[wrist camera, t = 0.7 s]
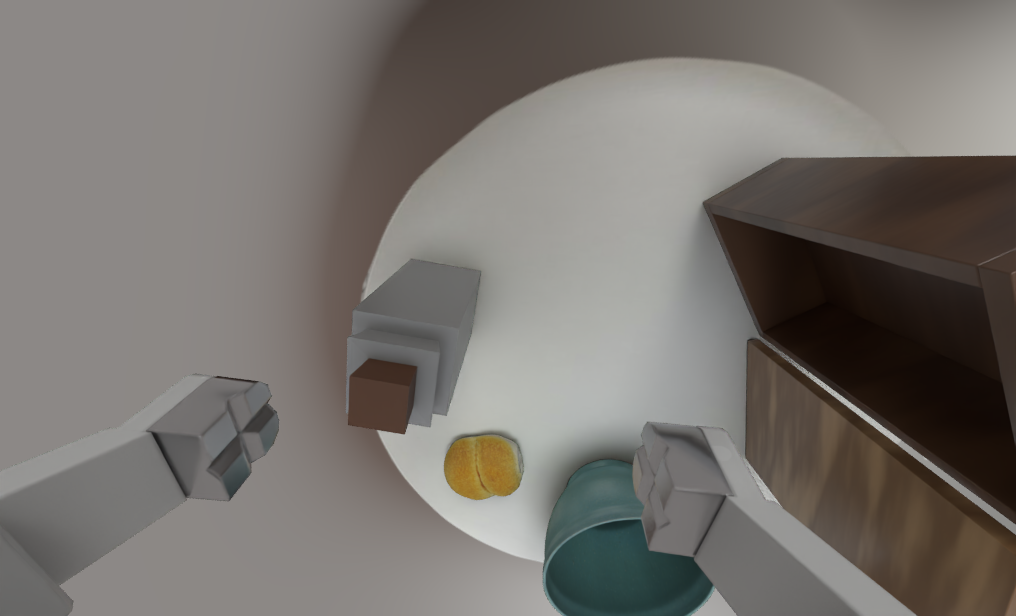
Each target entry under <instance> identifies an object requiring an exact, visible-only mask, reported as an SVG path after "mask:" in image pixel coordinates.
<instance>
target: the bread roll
mask: <svg viewBox="0 0 1016 616" xmlns="http://www.w3.org/2000/svg"><path fill="white" fill-rule="evenodd" d="M444 472H445V477H446V480H447V482H448V484H449V485H450V487H451V488H452V489H453V490H454V491H455V492H456V493H458V494H459V495H461V496H464V497H467V498H470V499H474V500H482V499H486V498H489V497H491V496H494V495H497V496H507V495H510V494H512V493H513V492H514V491H515V490H516V489H517V488H518V487H519V485H520V481H521V479H522V475H523V472H524V466H523V461H522V456H521V453H520V450H519V447H518V445H517V444H516V443H515V442H513V441H511V440H509V439H506V438H504V437H501V436H499V435H494V434H493V435H482V436H477V437H465V438H461V439H458V440H456V441H455V442H454V443H453V444H452V446H451V447H450V449H449V450H448V452H447V454H446V457H445V461H444Z"/></svg>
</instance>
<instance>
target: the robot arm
mask: <svg viewBox="0 0 1016 616" xmlns="http://www.w3.org/2000/svg"><path fill="white" fill-rule="evenodd" d="M271 397H272V395H271V392H270V390H269V387H268V384H265V383H263V382H259V381H251V380H244V379H236V378H228V377H221V376H217V377H215V376H208V375H201V374H192V375H189V376H186V377H184V378H182V379H181V380H180V381H179V382H177V383H176V384H175V385H173V386H172V387H171V388H169V389H168V390H167V391H165V392H164V393H163V394H162V395H160V396H159V397H158V398H156V399H155V400H154V401H152V402H151V403H150V404H148V405H147V406H146V407H144V408H143V409H142V410H141V411H139V412H138V413H137V414H135V415H134V416H133V417H131V418H130V419H129V420H127V421H126V422H125V423H123V424H122V425H121V426H120V427H118V428H108V429H105V430H102V431H100V432H97V433H95V434H92V435H90V436H87V437H85V438H82V439H80V440H77V441H75V442H72V443H69V444H67V445H65V446H62V447H59V448H57V449H54V450H52V451H49V452H47V453H44V454H42V455H39V456H36V457H34V458H32V459H29V460H26V461H24V462H21V463H19V464H16V465H14V466H11V467H9V468H6V469H4V470H1V471H0V616H67V615H68V614H69V613H70V612H71V611H72V608H73V600H72V599H71V598H70V597H69V596H68V595H67V594H66V593H65V592H64V591H63V590H62V589H61V588H60V587H59V585H61V584H62V583H64V582H65V581H67V580H68V579H70V578H71V577H73V576H74V575H76V574H77V573H79V572H80V571H82V570H83V569H84V568H86V567H88V566H89V565H91V564H92V563H94V562H95V561H97V560H98V559H100V558H101V557H103V556H104V555H106V554H107V553H109V552H110V551H112V550H113V549H115V548H116V547H117V546H119V545H121V544H122V543H124V542H125V541H127V540H128V539H130V538H131V537H133V536H134V535H136V534H137V533H139V532H140V531H142V530H143V529H144V528H146V527H147V526H149V525H150V524H152V523H153V522H155V521H156V520H158V519H160V518H161V517H163V516H164V515H165V514H167V513H168V512H170V511H171V510H173V509H174V508H176V507H177V506H179V505H180V504H182V503H183V502H185V501H186V500H187V499H186V498H196V499H207V500H219V501H230V499H231V498H232V497H233V495H234V494H235V493H236V492H237V490H238V489H239V488H240V487H241V485H242V484H243V483H244V481H245V480H246V479H247V478H248V476H249V475H250V474H251V463H252V462H254V461H256V460H257V459H259V458H261V457H263V456H265V455H266V453H267V452H268V451H269V449H270V448H271V447H272V445H273V444H274V441H275V439H276V436H277V434H278V431H279V419H278V415H277V412H276V411H275V410H274V409H273V408H272V407H271V406H270V405H269V404H268V401H269V400H270V398H271ZM641 437H642V440H643V444H644V445H643V446H641V447H640V448H638V449H637V450H636V452H635V456H634V460H633V471H632V477H633V486H634V490H635V495H636V497H637V498H638V499H639V500H640V501H641V503H642V504H643V505H644V509H643V512H642V515H641V520H642V524H643V528H644V533H645V537H646V541H647V545H648V549H649V551H655V552H662V553H669V554H676V555H683V556H690V557H695V558H694V561H695V562H696V563H697V564H698V566H699V567H700V568H701V570H702V571H703V572H704V573H705V575H706V576H707V577H708V579H709V580H710V581H711V582H712V584H713V585H714V586H715V588H716V589H717V590H718V591H719V593H720V594H721V595H722V597H723V598H724V599H725V600H726V602H727V603H728V604H729V606H730V607H731V608H732V609H733V611H734V612H735V613H736V615H737V616H917V615H916V614H914V613H913V612H912V611H911V610H909V609H908V608H907V607H906V606H904V605H903V604H902V603H901V602H899V601H898V600H897V599H896V598H894V597H893V596H892V595H891V594H889V593H888V592H887V591H886V590H884V589H883V588H882V587H881V586H880V585H878V584H877V583H876V582H875V581H873V580H872V579H871V578H870V577H868V576H867V575H866V574H865V573H863V572H862V571H861V570H860V569H858V568H857V567H856V566H855V565H853V564H852V563H851V562H850V561H848V560H847V559H846V558H845V557H843V556H842V555H841V554H840V553H838V552H837V551H836V550H835V549H833V548H832V547H831V546H830V545H828V544H827V543H826V542H825V541H823V540H822V539H821V538H820V537H818V536H817V535H816V534H815V533H813V532H812V531H811V530H810V529H808V528H807V527H806V526H805V525H803V524H802V523H801V522H800V521H798V520H797V519H796V518H795V517H793V516H792V515H791V514H790V513H788V512H787V511H786V510H785V509H783V508H782V507H781V506H780V505H778V504H777V503H776V502H775V501H769V500H766V499H765V498H764V496H763V494H762V492H761V490H760V489H759V487H758V485H757V483H756V482H755V480H754V478H753V476H752V475H751V473H750V471H749V469H748V468H747V466H746V464H745V462H744V460H743V459H742V457H741V455H740V453H739V452H738V450H737V448H736V446H735V445H734V443H733V441H732V439H731V438H730V436H729V434H728V433H727V432H726V431H725V430H724V429H723V428H713V427H702V426H696V427H695V426H689V425H678V424H668V423H657V422H647V423H646V424H645V425H644V427H643V430H642V433H641Z"/></svg>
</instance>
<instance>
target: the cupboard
mask: <svg viewBox="0 0 1016 616" xmlns="http://www.w3.org/2000/svg"><path fill="white" fill-rule="evenodd" d="M703 204H704V207H705V209H706V211H707V214H708V216H709V218H710V221H711V223H712V225H713V228H714V230H715V232H716V235H717V237H718V239H719V242H720V244H721V246H722V249H723V251H724V253H725V256H726V258H727V260H728V263H729V265H730V267H731V270H732V272H733V274H734V277H735V279H736V281H737V284H738V286H739V288H740V291H741V293H742V295H743V298H744V300H745V302H746V305H747V307H748V309H749V312H750V314H751V316H752V319H753V321H754V323H755V326H756V328H757V330H758V333H759V335H760V336H761V337H763V338H764V339H766V340H767V341H768V342H770V343H771V344H772V345H774V346H775V347H776V348H778V349H779V350H780V351H782V352H783V353H784V354H786V355H787V356H788V357H790V358H791V359H793V360H794V361H795V362H797V363H798V364H799V365H801V366H802V367H803V368H805V369H806V370H807V371H809V372H810V373H811V374H813V375H814V376H816V377H817V378H818V379H820V380H821V381H822V382H824V383H825V384H826V385H828V386H829V387H830V388H832V389H833V390H834V391H836V392H837V393H839V394H840V395H841V396H843V397H844V398H845V399H847V400H848V401H849V402H851V403H852V404H853V405H855V406H856V407H857V408H859V409H860V410H862V411H863V412H864V413H866V414H867V415H868V416H870V417H871V418H872V419H874V420H875V421H876V422H878V423H879V424H881V425H882V426H883V427H885V428H886V429H887V430H889V431H890V432H891V433H893V434H894V435H895V436H897V437H898V438H899V439H901V440H902V441H904V442H905V443H906V444H908V445H909V446H910V447H912V448H913V449H914V450H916V451H917V452H918V453H920V454H921V455H922V456H924V457H925V458H927V459H928V460H929V461H931V462H932V463H933V464H935V465H936V466H937V467H939V468H940V469H941V470H943V471H944V472H945V473H947V474H948V475H950V476H951V477H952V478H954V479H955V480H956V481H958V482H959V483H960V484H962V485H963V486H964V487H966V488H967V489H969V490H970V491H971V492H973V493H974V494H976V495H977V496H978V497H979V498H981V499H982V500H983V501H985V502H986V503H988V504H989V505H990V506H991V507H993V508H994V509H996V510H997V511H998V512H1000V513H1001V514H1002V515H1004V516H1005V517H1006V518H1008V519H1009V520H1010V521H1012V522H1013V523H1015V524H1016V156H941V157H842V158H781V159H779V160H778V161H776V162H774V163H772V164H771V165H769V166H767V167H765V168H763V169H762V170H760V171H758V172H756V173H754V174H753V175H751V176H749V177H747V178H745V179H744V180H742V181H740V182H738V183H736V184H735V185H733V186H731V187H729V188H728V189H726V190H724V191H722V192H720V193H719V194H717V195H715V196H713V197H711V198H710V199H708V200H706V201H704V202H703Z"/></svg>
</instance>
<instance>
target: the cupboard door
mask: <svg viewBox="0 0 1016 616" xmlns="http://www.w3.org/2000/svg"><path fill="white" fill-rule="evenodd" d="M746 459H747V460H748V462H749V463H750V464H751V466H752V467H753V468H754V470H755V471H756V473H757V474H758V475H759V477H760V478H761V479H762V481H763V482H764V483H765V485H766V486H767V487H768V489H769V490H770V491H771V493H772V494H773V495H774V497H775V498H776V499H777V501H778V502H779V503H780V505H781V506H782V507H783V509H785V510H786V511H787V512H788V513H790V514H791V515H792V516H793V517H795V518H796V519H797V520H798V521H800V522H801V523H802V524H803V525H805V526H806V527H807V528H808V529H810V530H811V531H812V532H813V533H815V534H816V535H817V536H818V537H820V538H821V539H822V540H823V541H825V542H826V543H827V544H828V545H830V546H831V547H832V548H833V549H835V550H836V551H837V552H838V553H840V554H841V555H842V556H843V557H845V558H846V559H847V560H848V561H850V562H851V563H852V564H853V565H855V566H856V567H857V568H858V569H860V570H861V571H862V572H863V573H865V574H866V575H867V576H868V577H870V578H871V579H872V580H873V581H875V582H876V583H877V584H878V585H880V586H881V587H882V588H883V589H884V590H886V591H887V592H888V593H889V594H891V595H892V596H893V597H894V598H896V599H897V600H898V601H899V602H901V603H902V604H903V605H904V606H906V607H907V608H908V609H909V610H911V611H912V612H913V613H914V614H916V615H917V616H1016V535H1015V534H1014V533H1012V532H1011V531H1010V530H1009V529H1007V528H1006V527H1005V526H1003V525H1002V524H1001V523H999V522H998V521H997V520H995V519H994V518H993V517H991V516H990V515H989V514H987V513H986V512H985V511H984V510H982V509H981V508H980V507H978V506H977V505H975V504H974V503H973V502H972V501H970V500H969V499H968V498H966V497H965V496H964V495H963V494H961V493H960V492H959V491H957V490H956V489H955V488H953V487H952V486H951V485H949V484H948V483H947V482H945V481H944V480H943V479H942V478H940V477H939V476H937V475H936V474H935V473H934V472H932V471H931V470H930V469H928V468H927V467H926V466H924V465H923V464H922V463H920V462H919V461H918V460H916V459H915V458H914V457H913V456H911V455H910V454H908V453H907V452H906V451H905V450H903V449H902V448H901V447H899V446H898V445H897V444H895V443H894V442H893V441H892V440H890V439H889V438H888V437H886V436H885V435H884V434H882V433H881V432H880V431H878V430H877V429H876V428H874V427H873V426H872V425H870V424H869V423H868V422H867V421H865V420H864V419H863V418H861V417H860V416H859V415H857V414H856V413H855V412H853V411H852V410H851V409H849V408H848V407H847V406H846V405H844V404H843V403H842V402H840V401H839V400H838V399H836V398H835V397H834V396H832V395H831V394H830V393H828V392H827V391H826V390H824V389H823V388H822V387H821V386H819V385H818V384H817V383H815V382H814V381H813V380H811V379H810V378H809V377H807V376H806V375H805V374H803V373H802V372H801V371H799V370H798V369H797V368H796V367H794V366H793V365H792V364H790V363H789V362H788V361H786V360H785V359H784V358H782V357H781V356H780V355H778V354H777V353H776V352H774V351H773V350H772V349H771V348H769V347H768V346H767V345H765V344H764V343H763V342H761V341H760V340H759V339H755V340H749V341H748V365H747V428H746Z"/></svg>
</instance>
